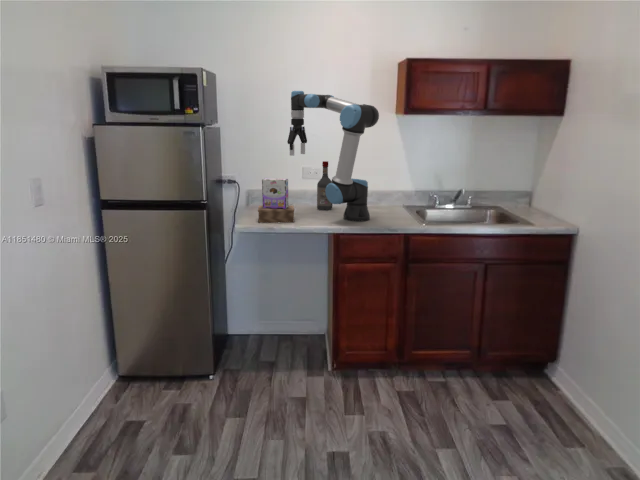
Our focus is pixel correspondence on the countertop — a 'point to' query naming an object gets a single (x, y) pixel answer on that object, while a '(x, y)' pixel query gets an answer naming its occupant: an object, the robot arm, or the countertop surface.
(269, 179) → the candy box
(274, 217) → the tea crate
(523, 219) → the countertop surface
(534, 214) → the countertop surface
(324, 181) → the liquor
